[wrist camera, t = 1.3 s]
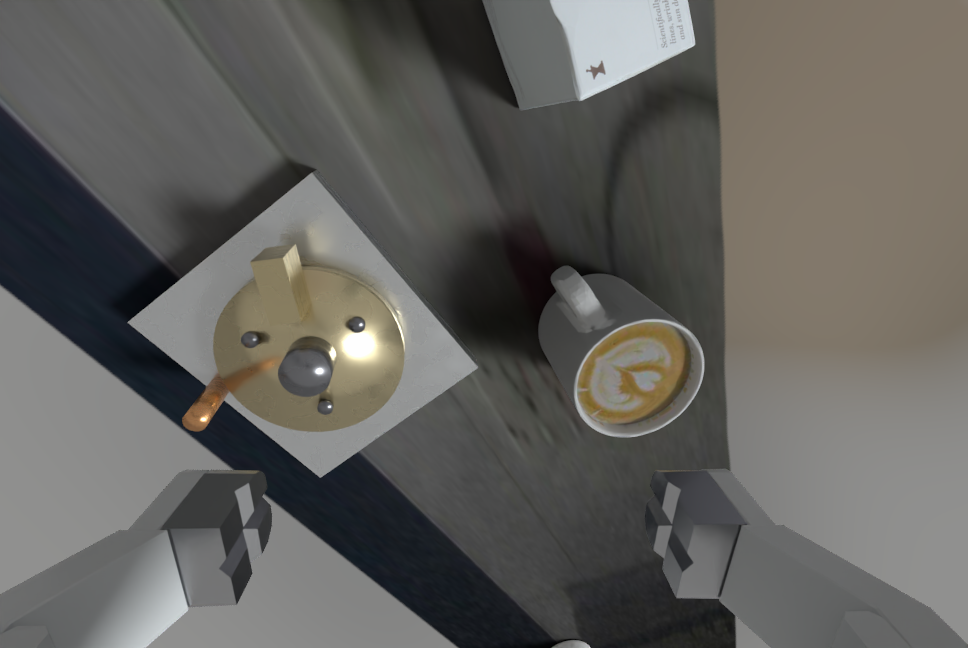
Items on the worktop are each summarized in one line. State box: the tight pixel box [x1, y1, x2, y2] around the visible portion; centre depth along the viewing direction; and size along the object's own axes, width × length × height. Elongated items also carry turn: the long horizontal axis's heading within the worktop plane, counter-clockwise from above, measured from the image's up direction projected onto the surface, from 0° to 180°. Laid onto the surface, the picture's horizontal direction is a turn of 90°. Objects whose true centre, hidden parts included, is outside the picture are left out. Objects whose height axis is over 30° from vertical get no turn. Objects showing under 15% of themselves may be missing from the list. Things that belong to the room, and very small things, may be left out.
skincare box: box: [482, 0, 695, 110], centre depth 25 cm, size 8×6×15 cm
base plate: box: [127, 170, 478, 478], centre depth 36 cm, size 20×18×7 cm
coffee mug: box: [538, 265, 704, 437], centre depth 37 cm, size 13×10×10 cm
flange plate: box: [213, 244, 405, 432], centre depth 34 cm, size 16×14×5 cm
